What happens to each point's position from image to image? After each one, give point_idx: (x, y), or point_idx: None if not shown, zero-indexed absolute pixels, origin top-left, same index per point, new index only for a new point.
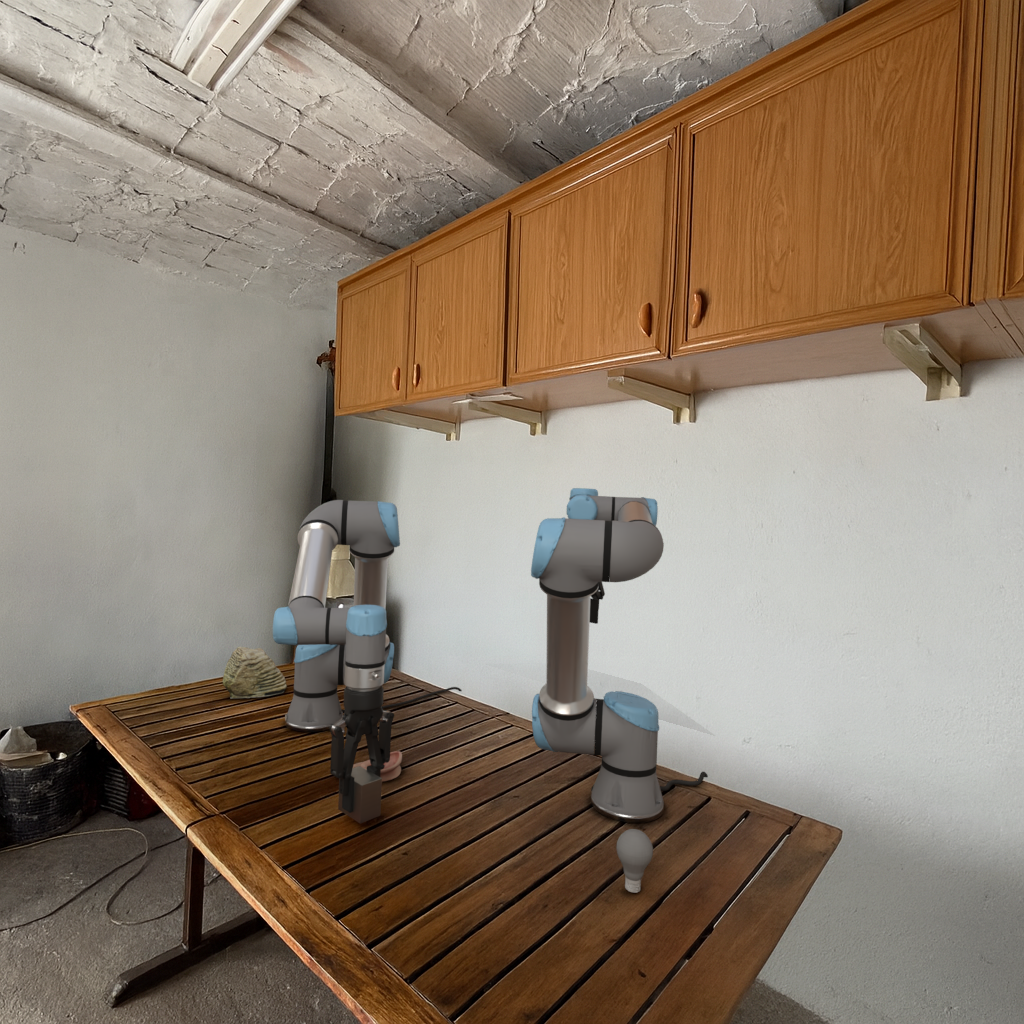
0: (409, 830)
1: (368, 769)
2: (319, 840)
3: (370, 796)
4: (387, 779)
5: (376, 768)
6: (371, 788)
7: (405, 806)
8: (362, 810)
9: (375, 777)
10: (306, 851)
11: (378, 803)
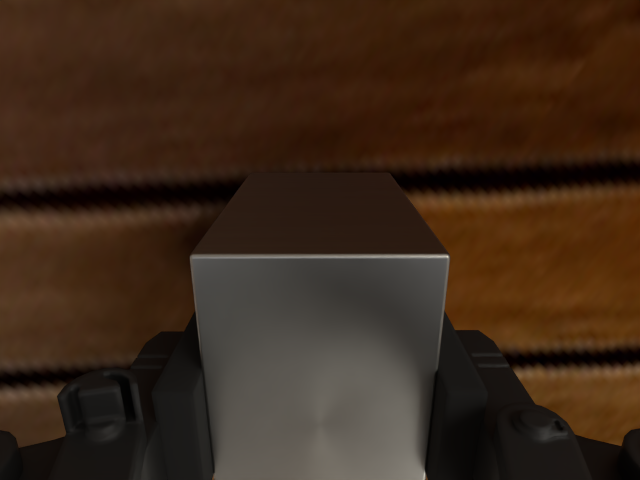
0: (151, 27)
1: (207, 462)
2: (525, 251)
3: (329, 210)
4: None
5: (148, 422)
6: (323, 231)
7: (48, 244)
8: (387, 189)
9: (236, 309)
10: (620, 213)
11: (259, 189)
